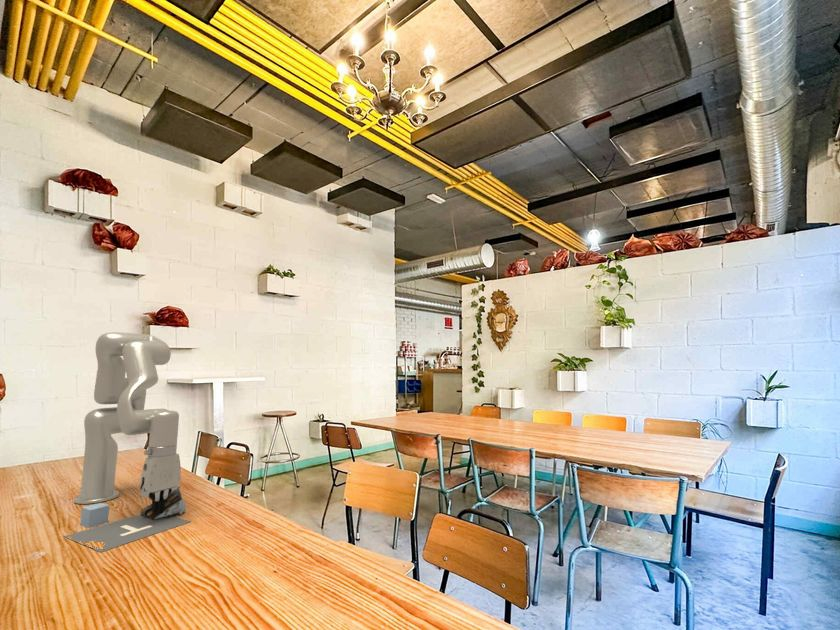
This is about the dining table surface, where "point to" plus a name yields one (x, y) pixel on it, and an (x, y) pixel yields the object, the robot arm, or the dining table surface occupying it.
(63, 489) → the dining table surface
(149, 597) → the dining table surface
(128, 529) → the letter mat
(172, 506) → the chocolate cake
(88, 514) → the cube
